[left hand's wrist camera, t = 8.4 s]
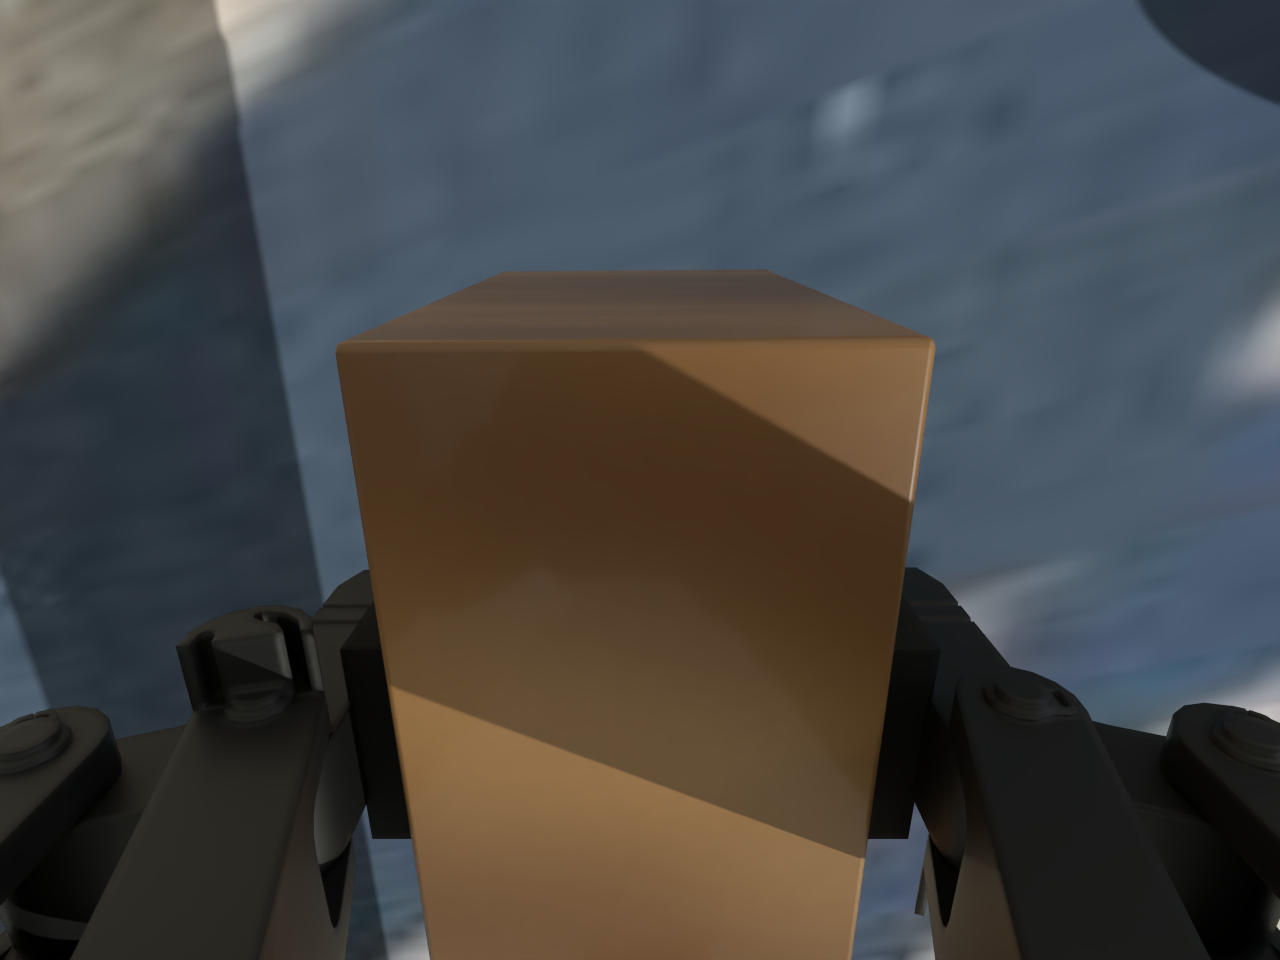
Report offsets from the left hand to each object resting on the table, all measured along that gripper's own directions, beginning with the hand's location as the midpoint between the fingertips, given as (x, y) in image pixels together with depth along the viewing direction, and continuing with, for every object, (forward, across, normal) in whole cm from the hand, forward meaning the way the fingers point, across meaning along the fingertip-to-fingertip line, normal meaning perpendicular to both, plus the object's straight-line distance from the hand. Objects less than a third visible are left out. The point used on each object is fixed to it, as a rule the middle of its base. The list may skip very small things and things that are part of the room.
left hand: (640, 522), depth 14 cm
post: (+1, 0, -24) cm, 24 cm away
